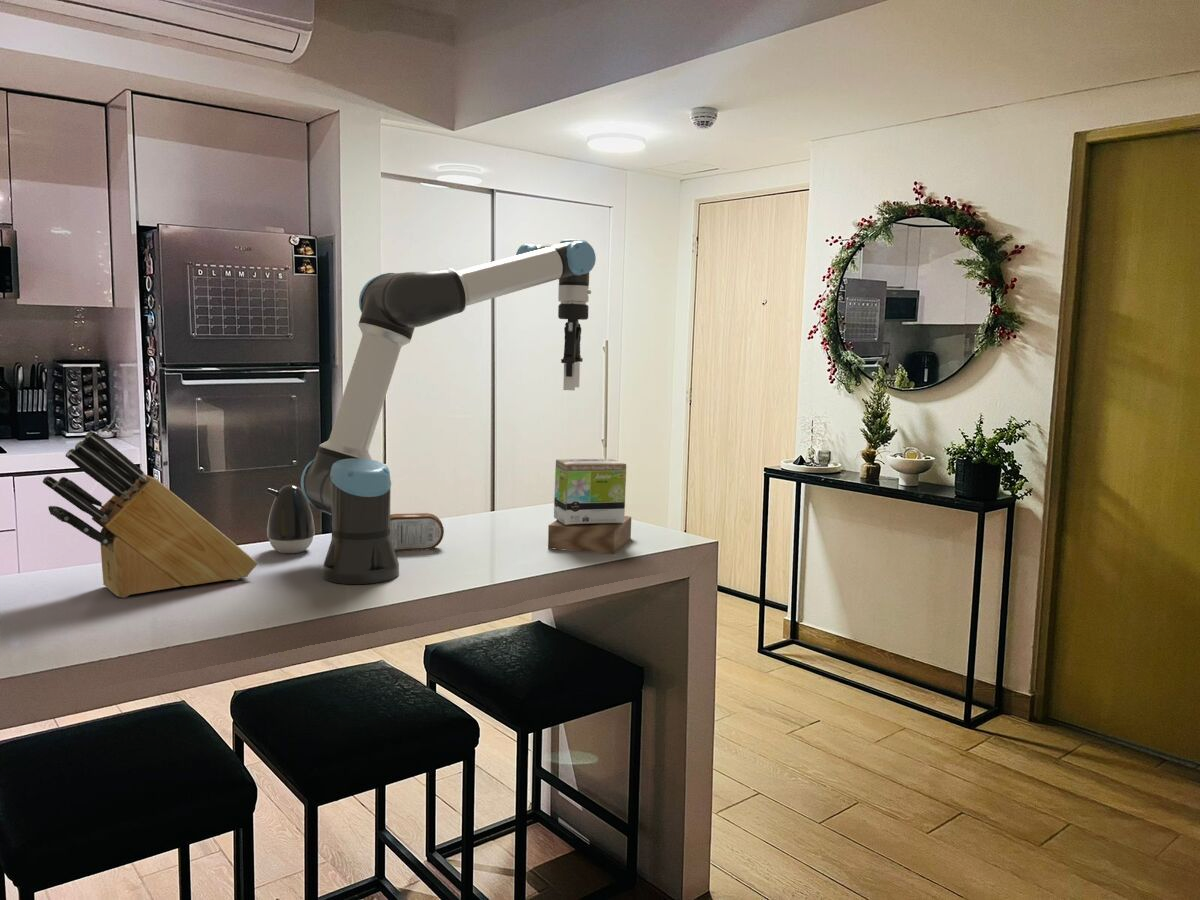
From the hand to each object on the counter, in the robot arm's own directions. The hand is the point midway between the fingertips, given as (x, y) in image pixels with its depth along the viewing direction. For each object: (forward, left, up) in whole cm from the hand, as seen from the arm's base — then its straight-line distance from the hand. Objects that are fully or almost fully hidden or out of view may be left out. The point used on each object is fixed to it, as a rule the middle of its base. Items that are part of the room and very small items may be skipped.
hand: (571, 388), depth 234 cm
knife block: (-74, -64, -37) cm, 104 cm away
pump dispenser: (-60, -32, -37) cm, 77 cm away
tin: (-34, -26, -37) cm, 57 cm away
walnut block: (+7, -12, -37) cm, 40 cm away
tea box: (+6, -13, -31) cm, 34 cm away
